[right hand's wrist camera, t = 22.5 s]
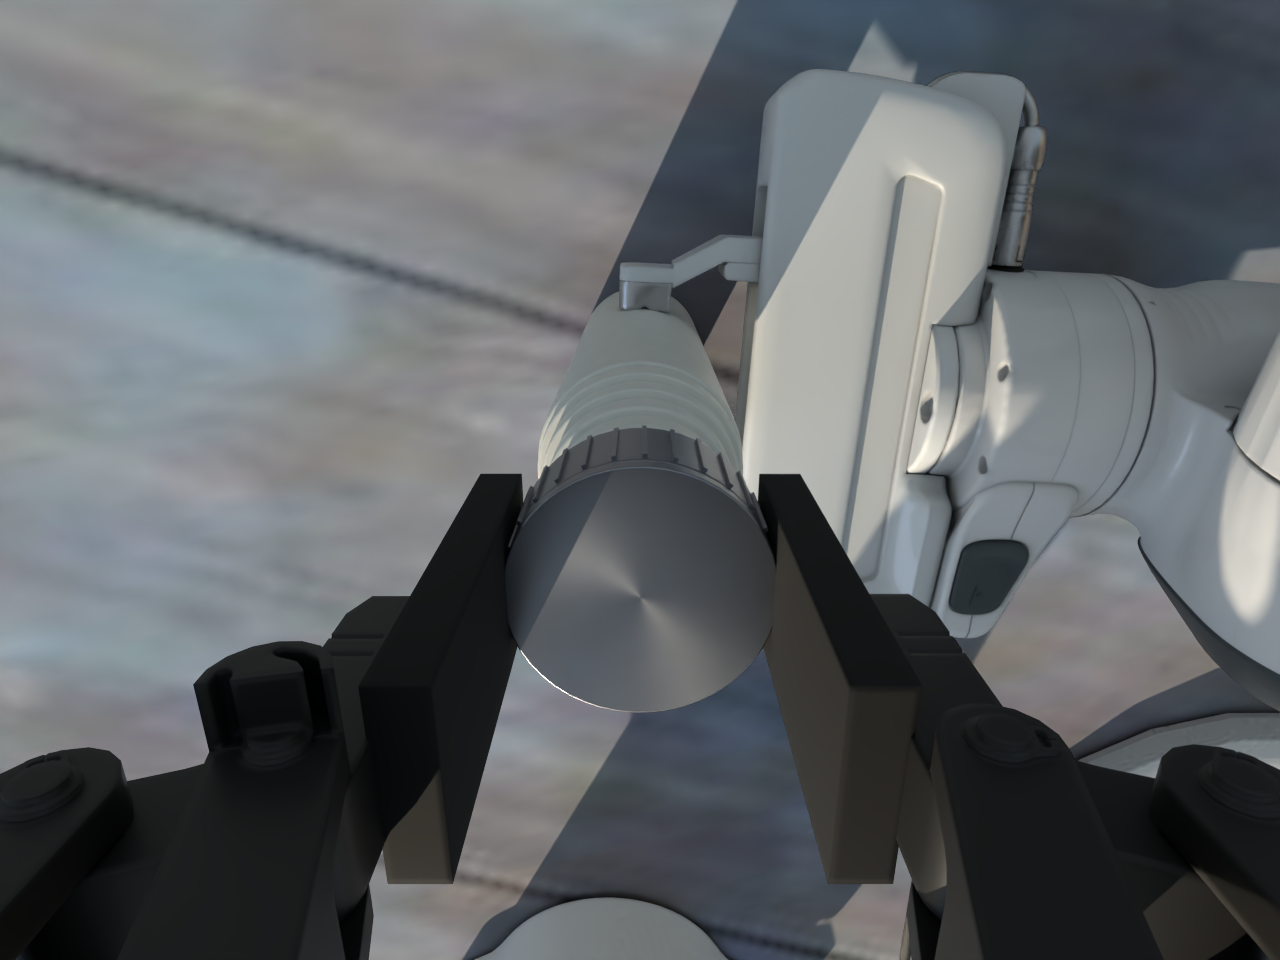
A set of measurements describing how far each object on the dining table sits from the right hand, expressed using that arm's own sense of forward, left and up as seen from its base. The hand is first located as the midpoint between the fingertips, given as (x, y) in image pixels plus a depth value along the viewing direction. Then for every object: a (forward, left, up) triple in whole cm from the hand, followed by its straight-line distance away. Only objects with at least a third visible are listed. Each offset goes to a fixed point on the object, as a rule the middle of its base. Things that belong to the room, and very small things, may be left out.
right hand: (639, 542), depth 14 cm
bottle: (0, 0, -20) cm, 20 cm away
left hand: (0, -1, -14) cm, 14 cm away
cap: (0, 0, +2) cm, 2 cm away
